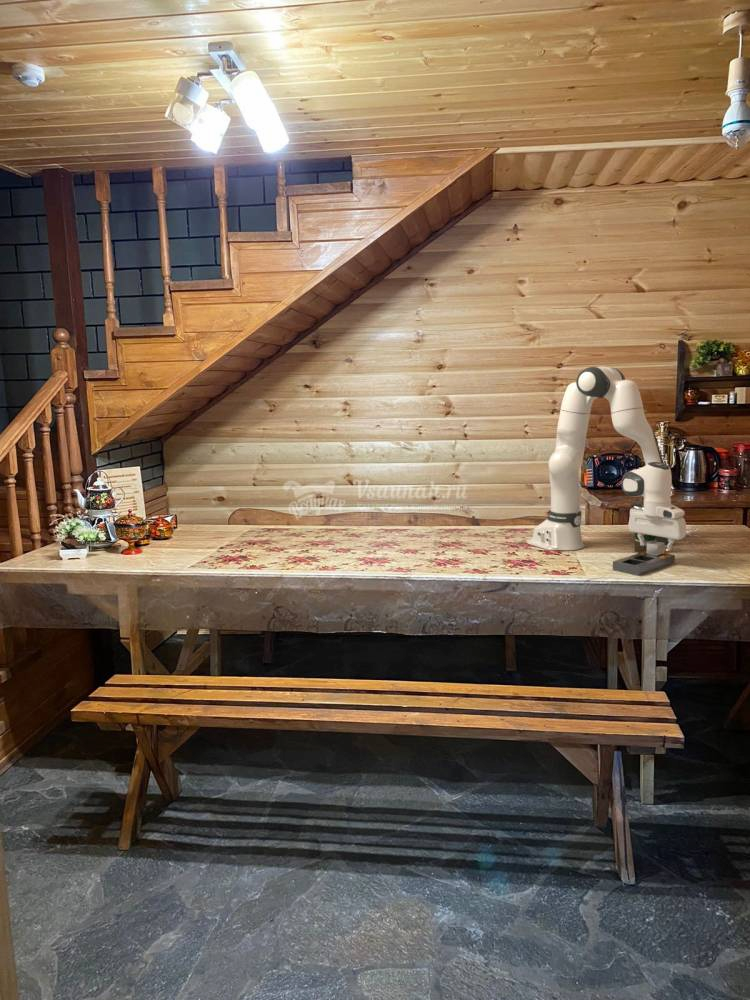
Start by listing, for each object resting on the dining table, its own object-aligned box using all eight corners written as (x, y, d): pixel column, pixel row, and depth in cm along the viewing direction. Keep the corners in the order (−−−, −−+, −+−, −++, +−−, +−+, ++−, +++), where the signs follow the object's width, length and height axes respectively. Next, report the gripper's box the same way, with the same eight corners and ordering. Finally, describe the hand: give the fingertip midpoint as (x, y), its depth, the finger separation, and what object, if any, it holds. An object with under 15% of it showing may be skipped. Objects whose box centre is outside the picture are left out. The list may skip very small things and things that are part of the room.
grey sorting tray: (612, 571, 251) (612, 561, 250) (648, 559, 264) (648, 549, 264) (638, 577, 243) (639, 566, 243) (674, 564, 256) (674, 554, 256)
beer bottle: (648, 555, 270) (650, 491, 265) (629, 551, 276) (631, 488, 272) (660, 551, 274) (662, 488, 270) (642, 547, 280) (643, 486, 276)
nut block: (646, 562, 259) (646, 543, 257) (652, 560, 261) (653, 540, 260) (657, 564, 255) (657, 545, 254) (663, 562, 258) (664, 542, 256)
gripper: (625, 506, 261) (624, 544, 263) (679, 514, 245) (677, 554, 247) (635, 504, 264) (634, 541, 267) (689, 511, 249) (687, 551, 251)
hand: (655, 547), depth 257 cm, fingers open, 8 cm apart
